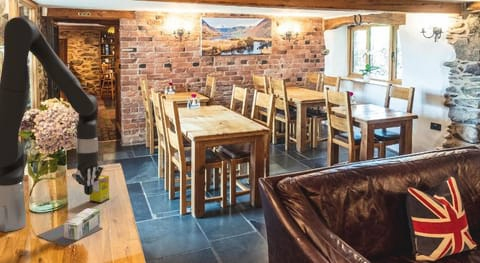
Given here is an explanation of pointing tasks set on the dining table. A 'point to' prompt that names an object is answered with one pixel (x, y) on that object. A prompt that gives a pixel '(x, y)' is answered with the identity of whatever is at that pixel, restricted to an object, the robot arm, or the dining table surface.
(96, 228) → the charcoal mat
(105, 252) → the dining table surface
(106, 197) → the supplement box
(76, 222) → the syrup box
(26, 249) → the dining table surface
